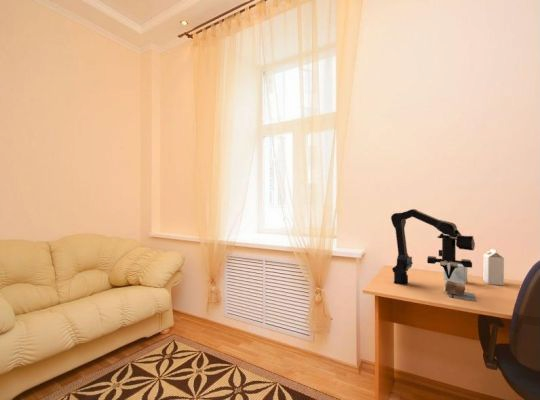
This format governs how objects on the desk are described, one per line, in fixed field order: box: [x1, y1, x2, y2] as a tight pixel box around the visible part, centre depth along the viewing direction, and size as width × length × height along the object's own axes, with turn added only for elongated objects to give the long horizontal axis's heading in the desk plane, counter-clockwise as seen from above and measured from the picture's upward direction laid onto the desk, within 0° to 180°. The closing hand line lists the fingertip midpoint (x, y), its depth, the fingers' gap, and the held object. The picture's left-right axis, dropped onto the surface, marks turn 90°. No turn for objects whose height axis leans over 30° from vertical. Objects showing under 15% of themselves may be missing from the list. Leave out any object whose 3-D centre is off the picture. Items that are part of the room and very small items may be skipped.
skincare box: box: [443, 263, 468, 285], centre depth 160 cm, size 10×6×10 cm, turn 42°
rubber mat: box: [452, 291, 477, 303], centre depth 137 cm, size 9×12×1 cm
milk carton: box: [482, 248, 505, 286], centre depth 156 cm, size 7×7×19 cm
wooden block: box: [443, 280, 466, 296], centre depth 138 cm, size 4×4×8 cm
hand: (448, 278), depth 140 cm, fingers closed
